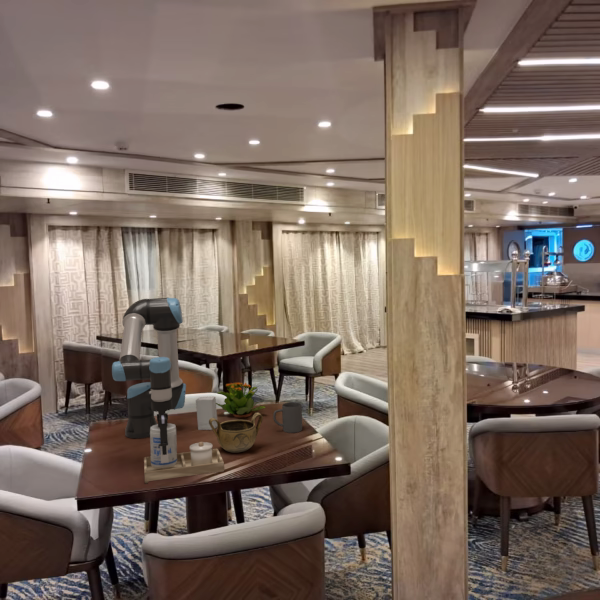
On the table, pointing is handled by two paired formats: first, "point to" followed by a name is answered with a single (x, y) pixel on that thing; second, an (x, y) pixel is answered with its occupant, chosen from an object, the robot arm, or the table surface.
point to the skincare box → (206, 412)
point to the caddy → (183, 467)
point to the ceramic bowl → (237, 433)
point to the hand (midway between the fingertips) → (164, 458)
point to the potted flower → (239, 400)
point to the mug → (290, 417)
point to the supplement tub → (156, 448)
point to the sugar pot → (201, 453)
